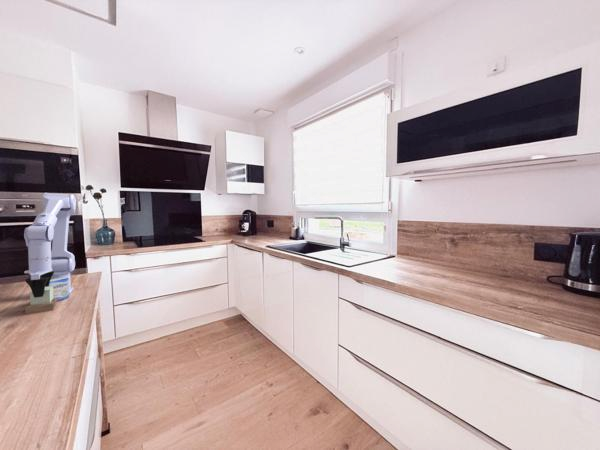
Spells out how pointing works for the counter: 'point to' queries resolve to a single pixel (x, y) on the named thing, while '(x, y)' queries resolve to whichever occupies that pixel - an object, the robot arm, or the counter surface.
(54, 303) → the walnut block
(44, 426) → the counter surface
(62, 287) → the medicine box
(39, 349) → the counter surface
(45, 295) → the sage cube
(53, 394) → the counter surface
